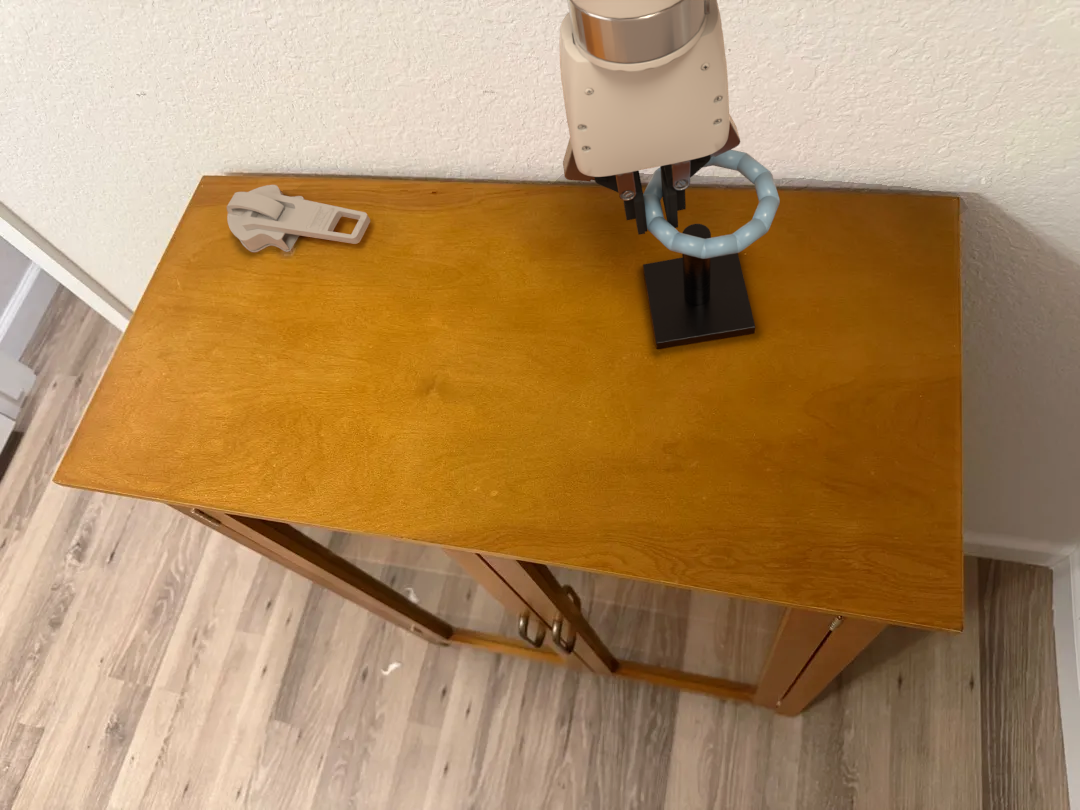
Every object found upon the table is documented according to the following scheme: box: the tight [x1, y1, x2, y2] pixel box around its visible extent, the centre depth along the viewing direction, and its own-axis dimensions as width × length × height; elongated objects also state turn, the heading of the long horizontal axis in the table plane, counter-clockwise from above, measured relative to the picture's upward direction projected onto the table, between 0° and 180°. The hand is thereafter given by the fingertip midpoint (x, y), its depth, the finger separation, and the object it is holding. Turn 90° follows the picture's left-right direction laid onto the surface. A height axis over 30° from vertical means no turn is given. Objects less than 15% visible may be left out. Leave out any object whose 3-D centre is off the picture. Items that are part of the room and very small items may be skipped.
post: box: [642, 223, 756, 350], centre depth 69 cm, size 9×9×10 cm
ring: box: [643, 149, 781, 259], centre depth 57 cm, size 10×10×1 cm
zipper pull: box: [226, 184, 371, 253], centre depth 85 cm, size 8×18×4 cm, turn 70°
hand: (655, 215), depth 58 cm, fingers closed on ring, 1 cm apart
